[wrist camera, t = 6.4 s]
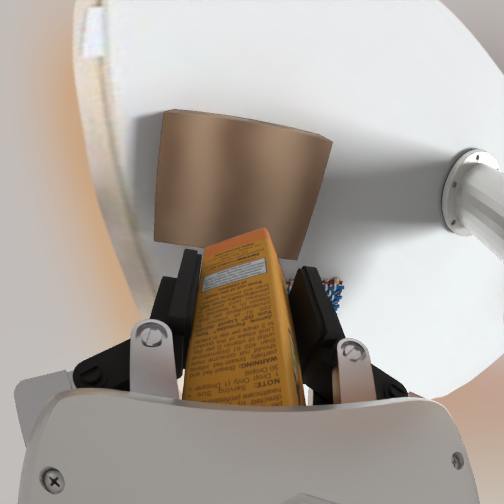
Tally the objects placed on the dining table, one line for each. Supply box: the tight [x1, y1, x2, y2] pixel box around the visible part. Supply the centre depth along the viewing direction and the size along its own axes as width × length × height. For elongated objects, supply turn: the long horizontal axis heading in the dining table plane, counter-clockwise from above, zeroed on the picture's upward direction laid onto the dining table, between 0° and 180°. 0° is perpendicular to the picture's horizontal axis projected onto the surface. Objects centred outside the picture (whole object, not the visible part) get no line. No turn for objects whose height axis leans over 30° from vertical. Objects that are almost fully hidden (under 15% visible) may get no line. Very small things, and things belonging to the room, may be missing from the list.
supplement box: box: [182, 228, 306, 406], centre depth 10 cm, size 3×4×10 cm
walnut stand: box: [154, 109, 333, 260], centre depth 25 cm, size 14×12×4 cm
